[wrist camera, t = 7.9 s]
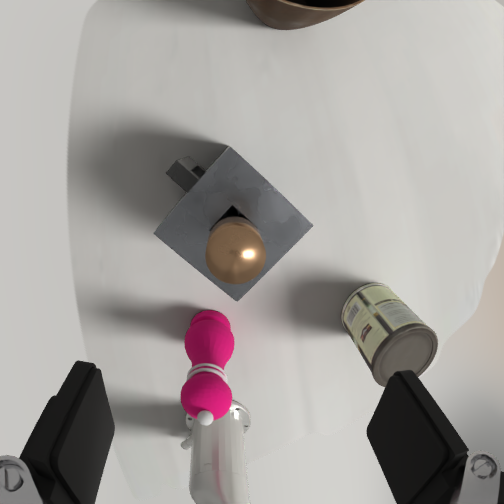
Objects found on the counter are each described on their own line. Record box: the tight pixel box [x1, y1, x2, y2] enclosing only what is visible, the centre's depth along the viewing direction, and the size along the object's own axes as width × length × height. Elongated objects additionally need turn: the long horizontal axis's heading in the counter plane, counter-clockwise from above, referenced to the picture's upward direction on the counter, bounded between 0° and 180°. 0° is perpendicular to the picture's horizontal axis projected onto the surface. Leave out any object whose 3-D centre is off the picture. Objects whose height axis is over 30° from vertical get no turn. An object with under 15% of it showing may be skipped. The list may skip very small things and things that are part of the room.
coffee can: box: [341, 283, 438, 387], centre depth 44 cm, size 10×10×14 cm
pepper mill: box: [181, 310, 234, 426], centre depth 40 cm, size 7×7×20 cm
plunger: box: [205, 205, 266, 284], centre depth 29 cm, size 7×7×17 cm
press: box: [153, 146, 313, 301], centre depth 35 cm, size 10×13×16 cm
